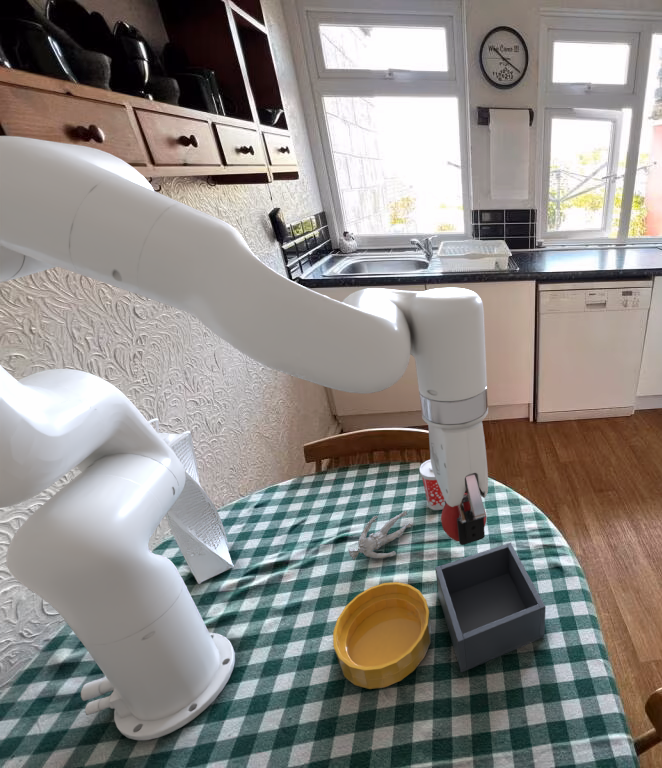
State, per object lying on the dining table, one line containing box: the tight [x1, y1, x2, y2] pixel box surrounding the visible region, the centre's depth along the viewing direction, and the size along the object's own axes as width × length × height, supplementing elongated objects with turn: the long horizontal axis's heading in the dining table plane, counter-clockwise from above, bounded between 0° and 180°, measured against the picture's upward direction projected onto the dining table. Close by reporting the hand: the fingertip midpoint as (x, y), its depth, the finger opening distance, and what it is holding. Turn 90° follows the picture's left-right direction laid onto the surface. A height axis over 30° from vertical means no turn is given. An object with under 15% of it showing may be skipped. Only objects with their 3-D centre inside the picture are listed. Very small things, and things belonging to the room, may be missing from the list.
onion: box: [440, 493, 487, 542], centre depth 54 cm, size 6×6×8 cm
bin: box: [434, 542, 546, 673], centre depth 62 cm, size 13×13×7 cm
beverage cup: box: [419, 458, 445, 511], centre depth 83 cm, size 6×6×14 cm
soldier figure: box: [347, 510, 414, 561], centre depth 75 cm, size 8×5×12 cm
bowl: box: [332, 581, 433, 690], centre depth 59 cm, size 13×13×4 cm
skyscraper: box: [147, 417, 235, 585], centre depth 66 cm, size 8×8×28 cm
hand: (464, 521), depth 54 cm, fingers closed on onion, 5 cm apart
